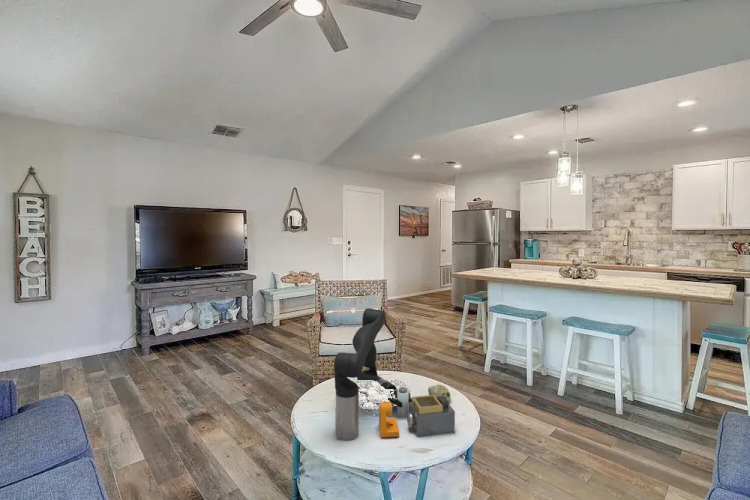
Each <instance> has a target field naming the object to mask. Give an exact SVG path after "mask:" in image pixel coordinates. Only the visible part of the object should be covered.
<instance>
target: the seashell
mask: <svg viewBox="0 0 750 500" xmlns="http://www.w3.org/2000/svg"><path fill="white" fill-rule="evenodd" d="M427 392H428V395H435V397H436V398H437V396H445V398H446V399H447V400H448V404H449V405H451V401H452V400H451V399H452V398H451V393H450V391H449V389H448V388H447V387H446V386H445V385H442V384H435V385H431V386H429V387H428V389H427Z"/></svg>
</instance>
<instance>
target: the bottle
mask: <svg viewBox="0 0 750 500" xmlns="http://www.w3.org/2000/svg"><path fill="white" fill-rule="evenodd" d="M397 390H398V391H397V399H398V400H399V401H401V402H402V407H397V409H396V413H397V417H398V418H400V419H407V413H409V393H410V391H409V390H408V388H406V387H403V386H402V387H399V388H398V389H397Z"/></svg>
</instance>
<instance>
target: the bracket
mask: <svg viewBox="0 0 750 500" xmlns="http://www.w3.org/2000/svg"><path fill="white" fill-rule="evenodd" d="M378 407H379V408H378V409H379V411H378V424H379V432H380V437H381V438H395V437H399V436H400V430H399V426H398V421H397V418H395V417H392V416H393V404H392V403H391V402H382V401H381V402H379V406H378ZM388 417H389V418H388Z"/></svg>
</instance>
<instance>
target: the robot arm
mask: <svg viewBox="0 0 750 500" xmlns="http://www.w3.org/2000/svg"><path fill="white" fill-rule="evenodd" d="M361 322H362V323H361V324H362V326H361V327H359V328H358V330H356V331H355V334H354V335H353V338H352V340H351V341H352V346H353V349H354V351H355V352H356V353H351V352H337V354H336V355H335V357H334V363H333V372H334V373H333V375H334V388H335V416H334V417H335V421H334V422H335V423H334V424H335V425H334V426H335V436H336V437H335V438H336V440H342V441H352V440H354V439H356V438H357V437H359V433H360V427H359V426H360V425H359V424H360V423H359V422H360V421H359V420H360V416H359V413H360V412H359V411H360V410H359V409H360V406H359V403H360V402H359V400H360V399H359V392H360V391H359V389H360V388H359V384H357V383H356V382H354V381H353V380H351V379H350V378H352V379H354V378H356V379H357V381H358V380H374V381H377V382H378V383H379V384H380V385H381V386H383V387H384V388H385V389H394V390H395V391H394V393H393V391H390V393H391V396H392V399H391V398H388V400H389V401H390V402H391V403H392V405H395V406H398V407H402V402H401V401H399V400H398V399H396V398H397V391H398V390H399V389H398V388H397V386H395V384H393V383H391V381H388V380H387V379H384V378H382V377H381V376H379V375H378V371H377V347H376V345H375V343H374V342H375V340H376V338H377V335H378V334H379V332H380V331H381V329H382V328H383V326H384V325H385V323H386V313H385V311H384V310H382V309H375V308H369V307H368V308H365V309H364V311H363V313H362V321H361ZM364 368H368V369H366V370H363V369H364ZM409 402H412V397H411V393H410V392H409Z"/></svg>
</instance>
